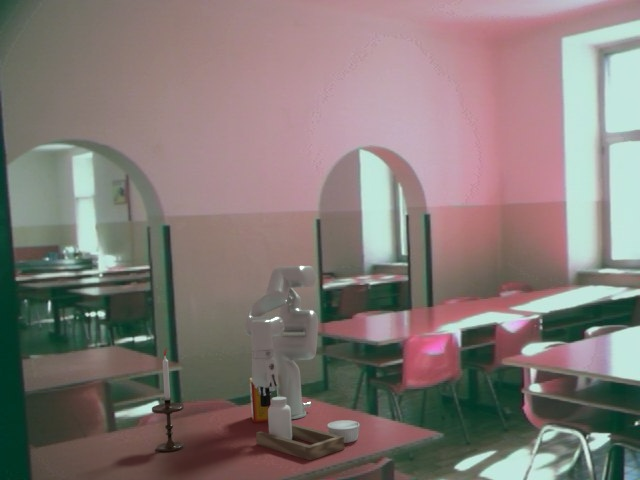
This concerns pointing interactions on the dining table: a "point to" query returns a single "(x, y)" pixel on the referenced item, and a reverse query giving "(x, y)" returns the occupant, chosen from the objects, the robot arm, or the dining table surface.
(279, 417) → the pill bottle
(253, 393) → the baking soda box
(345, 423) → the ramekin
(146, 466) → the dining table surface
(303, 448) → the u rest
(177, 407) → the candlestick
